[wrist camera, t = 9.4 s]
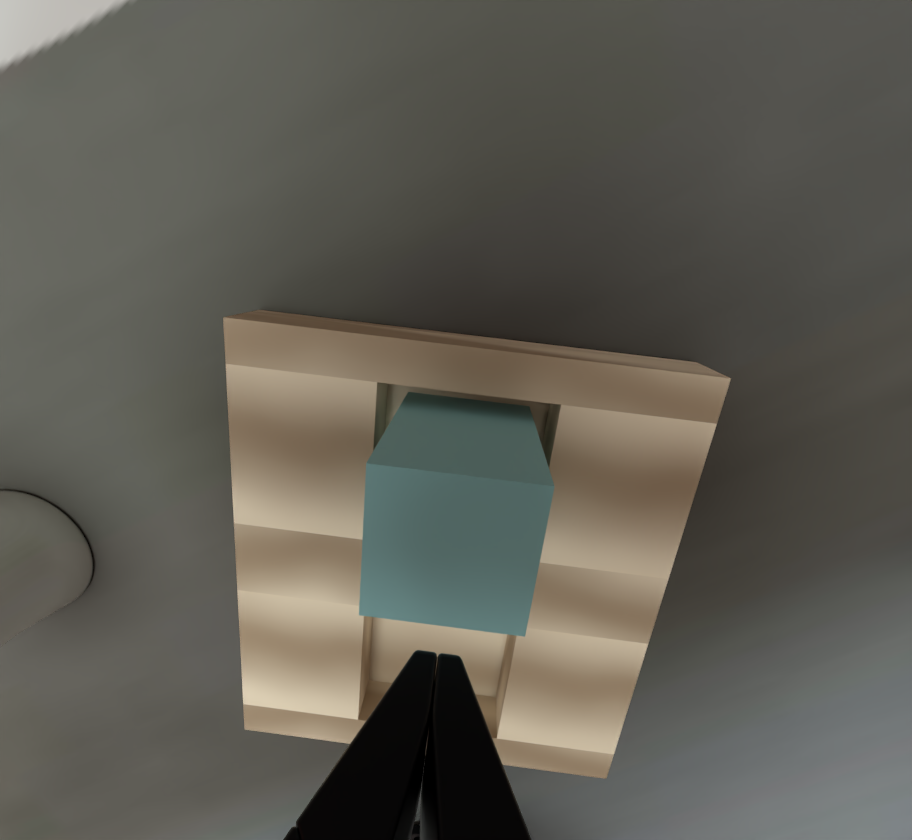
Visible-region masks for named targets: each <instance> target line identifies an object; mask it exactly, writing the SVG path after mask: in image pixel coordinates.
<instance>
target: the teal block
mask: <svg viewBox="0 0 912 840" xmlns="http://www.w3.org/2000/svg"><path fill="white" fill-rule="evenodd" d="M554 487H555V486H554V483H553V480H552V476H551V473H550V470H549V467H548V464H547V461H546V458H545V454H544V451H543V448H542V445H541V442H540V439H539V435H538V432H537V429H536V426H535V423H534V420H533V417H532V413H531V410H530V407H529V406H523V405H515V404H507V403H498V402H490V401H482V400H473V399H465V398H457V397H448V396H440V395H431V394H423V393H415V392H408V393H407V395H406V396H405V398H404V400H403V402H402V403H401V405H400V407H399V408H398V410H397V412H396V413H395V415H394V417H393V419H392V420H391V422H390V424H389V425H388V427H387V429H386V430H385V432H384V434H383V436H382V437H381V439H380V441H379V442H378V444H377V446H376V447H375V449H374V451H373V453H372V454H371V456H370V458H369V459H368V461H367V463H366V477H365V498H364V518H363V539H362V560H361V580H360V601H359V615H361V616H368V617H376V618H384V619H392V620H399V621H407V622H415V623H423V624H430V625H438V626H446V627H454V628H461V629H469V630H477V631H485V632H492V633H500V634H508V635H515V636H523V637H525V635H526V630H527V624H528V619H529V614H530V609H531V604H532V599H533V594H534V589H535V584H536V579H537V574H538V569H539V564H540V558H541V553H542V548H543V543H544V538H545V533H546V528H547V523H548V518H549V513H550V508H551V503H552V497H553V492H554Z"/></svg>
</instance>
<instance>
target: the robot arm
mask: <svg viewBox="0 0 912 840" xmlns="http://www.w3.org/2000/svg"><path fill="white" fill-rule="evenodd" d="M436 664H437V665H436ZM435 672H436V673H435ZM427 738H428V739H427ZM426 746H427V747H426ZM425 754H426V755H425ZM424 762H425V764H424ZM423 770H424V772H423ZM422 778H423V780H422ZM421 784H422V791H421ZM420 791H421V809H420V825H416V826H414V821H415V817H416V812H417V807H418V802H419V797H420ZM283 840H531V837H530V835H529V832H528V829H527V827H526V824H525V822H524V819H523V816H522V814H521V811H520V809H519V806H518V804H517V801H516V798H515V796H514V793H513V791H512V788H511V785H510V783H509V780H508V778H507V775H506V772H505V770H504V767H503V765H502V762H501V759H500V757H499V754H498V752H497V749H496V746H495V744H494V741H493V739H492V736H491V733H490V731H489V728H488V726H487V723H486V720H485V718H484V715H483V713H482V710H481V707H480V705H479V702H478V700H477V697H476V694H475V692H474V689H473V687H472V684H471V681H470V679H469V676H468V674H467V671H466V668H465V666H464V663H463V661H462V659H461V657H460V656H458V655H453V654H445V653H440V654H439V655H438V657H437V654H436V653H435V652H430V651H423V650H416V651H415V652H414V653H413V654H412V655H411V657H410V658H409V660H408V661H407V662H406V664H405V665H404V667H403V668H402V670H401V671H400V673H399V674H398V675H397V677H396V678H395V680H394V681H393V683H392V684H391V686H390V687H389V688H388V690H387V691H386V693H385V694H384V696H383V697H382V699H381V700H380V701H379V703H378V704H377V706H376V707H375V709H374V710H373V712H372V713H371V714H370V716H369V717H368V719H367V720H366V722H365V723H364V724H363V726H362V727H361V729H360V730H359V732H358V733H357V735H356V736H355V737H354V739H353V740H352V742H351V743H350V745H349V746H348V748H347V749H346V750H345V752H344V753H343V755H342V756H341V758H340V759H339V761H338V762H337V763H336V765H335V766H334V768H333V769H332V771H331V772H330V774H329V775H328V776H327V778H326V779H325V781H324V782H323V784H322V785H321V787H320V788H319V789H318V791H317V792H316V794H315V795H314V797H313V798H312V799H311V801H310V802H309V804H308V805H307V807H306V808H305V810H304V811H303V812H302V814H301V815H300V817H299V818H298V820H297V821H296V827H295V826H294V827H292V828H291V829H290V831H289V832H288V834H287V835H286V837H285V838H284V839H283Z"/></svg>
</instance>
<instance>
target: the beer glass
mask: <svg viewBox="0 0 912 840" xmlns="http://www.w3.org/2000/svg"><path fill="white" fill-rule="evenodd" d="M92 573H93V560H92V555H91V551H90V548H89V545H88V543H87V541H86V539H85V537H84V536H83V534H82V532H81V531H80V530H79V528H78V527H77V526H76V525H75V523H74V522H73V521H72V520H71V519H70V518H69V517H68V516H67V515H65V514H64V513H63V512H62V511H60V510H59V509H58V508H56V507H55V506H53V505H52V504H50V503H48V502H46V501H44V500H42V499H40V498H38V497H35V496H32V495H29V494H26V493H22V492H17V491H0V647H2V646H3V645H4V644H6V643H7V642H8V641H10V640H11V639H12V638H14V637H15V636H16V635H18V634H19V633H21V632H22V631H24V630H26V629H27V628H29V627H30V626H32V625H34V624H35V623H37V622H39V621H40V620H42V619H44V618H46V617H47V616H49V615H51V614H53V613H54V612H56V611H58V610H60V609H61V608H63V607H65V606H66V605H68V604H69V603H71V602H73V601H74V600H75V599H76V598H78V597H79V596H80V595H81V594H82V593H83V592H84V591H85V589H86V588H87V586H88V585H89V583H90V580H91V577H92Z"/></svg>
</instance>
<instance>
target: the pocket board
mask: <svg viewBox="0 0 912 840" xmlns="http://www.w3.org/2000/svg"><path fill="white" fill-rule="evenodd" d="M223 322H224V341H225V360H226V379H227V399H228V418H229V437H230V456H231V475H232V495H233V514H234V533H235V552H236V571H237V590H238V610H239V629H240V648H241V667H242V686H243V705H244V725H245V729H246V730H254V731H261V732H268V733H275V734H283V735H290V736H297V737H305V738H312V739H319V740H327V741H334V742H341V743H349V744H350V743H351V742H352V740H353V739H354V737H355V736H356V735H357V733H358V732H359V730H360V729H361V727H362V726H363V724H364V723H365V722H366V720H367V719H368V717H369V716H370V714H371V713H372V712H373V710H374V709H375V707H376V706H377V704H378V703H379V701H380V700H381V699H382V697H383V696H384V694H385V693H386V691H387V690H388V688H389V687H390V686H391V684H392V683H393V681H394V680H395V678H396V677H397V675H398V674H399V673H400V671H401V670H402V668H403V667H404V665H405V664H406V662H407V661H408V660H409V658H410V657H411V655H412V654H413V653H414V652H415V651H416V650H423V651H430V652H435V653H436V654H437V657H438V655H439V654H440V653H445V654H453V655H458V656H460V657H461V659H462V661H463V663H464V666H465V668H466V671H467V674H468V676H469V679H470V681H471V684H472V687H473V689H474V692H475V694H476V697H477V700H478V702H479V705H480V707H481V710H482V713H483V715H484V718H485V720H486V723H487V726H488V728H489V731H490V733H491V736H492V739H493V741H494V744H495V746H496V749H497V752H498V754H499V757H500V759H501V762H502V765H509V766H517V767H524V768H531V769H539V770H546V771H553V772H561V773H568V774H575V775H583V776H590V777H597V778H605V779H606V778H607V775H608V771H609V768H610V765H611V762H612V759H613V755H614V752H615V749H616V746H617V742H618V739H619V736H620V733H621V730H622V726H623V723H624V720H625V717H626V714H627V710H628V707H629V704H630V701H631V698H632V694H633V691H634V688H635V685H636V682H637V678H638V675H639V672H640V669H641V665H642V662H643V659H644V656H645V653H646V649H647V646H648V643H649V640H650V637H651V633H652V630H653V627H654V624H655V621H656V617H657V614H658V611H659V608H660V605H661V601H662V598H663V595H664V592H665V589H666V585H667V582H668V579H669V576H670V572H671V569H672V566H673V563H674V560H675V556H676V553H677V550H678V547H679V544H680V540H681V537H682V534H683V531H684V528H685V524H686V521H687V518H688V515H689V512H690V508H691V505H692V502H693V499H694V495H695V492H696V489H697V486H698V483H699V479H700V476H701V473H702V470H703V467H704V463H705V460H706V457H707V454H708V451H709V447H710V444H711V441H712V438H713V435H714V431H715V428H716V425H717V422H718V419H719V415H720V412H721V409H722V406H723V402H724V399H725V396H726V393H727V390H728V386H729V383H730V380H731V378H729V377H727V376H725V375H723V374H720V373H718V372H716V371H714V370H712V369H710V368H708V367H705V366H703V365H701V364H699V363H697V362H691V361H682V360H674V359H666V358H657V357H649V356H641V355H632V354H624V353H616V352H607V351H599V350H591V349H582V348H574V347H566V346H557V345H549V344H541V343H532V342H524V341H515V340H507V339H499V338H490V337H482V336H474V335H465V334H457V333H449V332H440V331H432V330H424V329H415V328H407V327H399V326H390V325H382V324H374V323H365V322H357V321H349V320H340V319H332V318H324V317H315V316H307V315H299V314H290V313H282V312H273V311H265V310H256V311H251V312H247V313H242V314H237V315H232V316H227V317H223ZM408 392H415V393H423V394H431V395H440V396H448V397H457V398H465V399H473V400H482V401H490V402H498V403H507V404H515V405H523V406H529V407H530V410H531V413H532V417H533V420H534V423H535V426H536V429H537V432H538V435H539V439H540V442H541V445H542V448H543V451H544V454H545V458H546V461H547V464H548V467H549V470H550V473H551V476H552V480H553V483H554V486H555V487H554V492H553V497H552V503H551V508H550V513H549V518H548V523H547V528H546V533H545V538H544V543H543V548H542V553H541V558H540V564H539V569H538V574H537V579H536V584H535V589H534V594H533V599H532V604H531V609H530V614H529V619H528V624H527V630H526V635H525V637H523V636H515V635H508V634H500V633H492V632H485V631H477V630H469V629H461V628H454V627H446V626H438V625H430V624H423V623H415V622H407V621H399V620H392V619H384V618H376V617H368V616H361V615H359V601H360V580H361V560H362V539H363V518H364V498H365V477H366V463H367V461H368V459H369V458H370V456H371V454H372V453H373V451H374V449H375V447H376V446H377V444H378V442H379V441H380V439H381V437H382V436H383V434H384V432H385V430H386V429H387V427H388V425H389V424H390V422H391V420H392V419H393V417H394V415H395V413H396V412H397V410H398V408H399V407H400V405H401V403H402V402H403V400H404V398H405V396H406V395H407V393H408ZM436 665H437V664H436ZM435 673H436V672H435ZM427 739H428V738H427ZM426 747H427V746H426Z"/></svg>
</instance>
